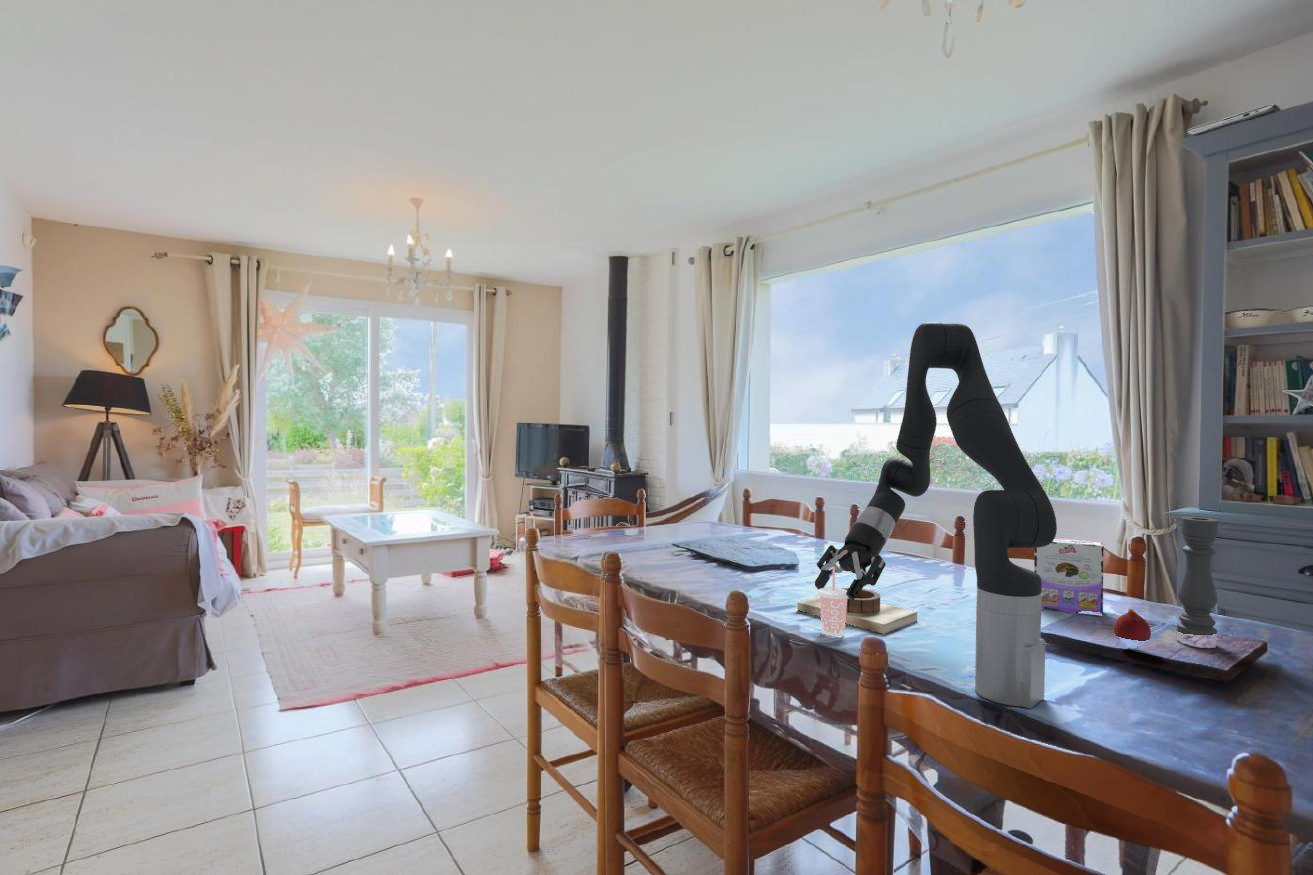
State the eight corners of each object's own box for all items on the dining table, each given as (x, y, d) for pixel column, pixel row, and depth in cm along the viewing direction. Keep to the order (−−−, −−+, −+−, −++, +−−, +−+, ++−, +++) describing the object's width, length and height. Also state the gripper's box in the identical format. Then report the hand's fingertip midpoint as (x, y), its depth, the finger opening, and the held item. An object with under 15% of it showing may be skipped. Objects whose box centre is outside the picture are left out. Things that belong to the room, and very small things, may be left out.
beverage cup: (816, 636, 135) (817, 569, 135) (819, 627, 141) (820, 562, 141) (847, 640, 133) (848, 571, 133) (849, 631, 139) (850, 565, 139)
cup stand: (917, 620, 146) (917, 598, 146) (884, 634, 137) (884, 610, 137) (832, 600, 163) (832, 579, 163) (797, 610, 154) (797, 589, 154)
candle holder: (1224, 649, 128) (1227, 521, 128) (1187, 647, 129) (1191, 520, 129) (1204, 639, 134) (1207, 517, 134) (1169, 637, 136) (1173, 516, 135)
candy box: (1102, 611, 154) (1103, 541, 154) (1103, 617, 149) (1104, 545, 149) (1034, 602, 161) (1035, 535, 161) (1032, 608, 156) (1034, 539, 156)
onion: (1152, 649, 128) (1153, 608, 128) (1147, 657, 124) (1149, 614, 124) (1116, 642, 132) (1116, 602, 132) (1110, 649, 128) (1111, 608, 128)
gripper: (836, 517, 147) (799, 574, 141) (890, 525, 135) (852, 589, 129) (852, 538, 150) (816, 595, 144) (906, 548, 138) (869, 611, 132)
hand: (833, 592), depth 137 cm, fingers open, 8 cm apart
